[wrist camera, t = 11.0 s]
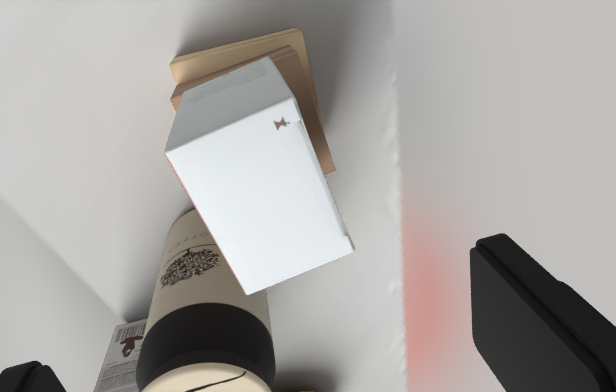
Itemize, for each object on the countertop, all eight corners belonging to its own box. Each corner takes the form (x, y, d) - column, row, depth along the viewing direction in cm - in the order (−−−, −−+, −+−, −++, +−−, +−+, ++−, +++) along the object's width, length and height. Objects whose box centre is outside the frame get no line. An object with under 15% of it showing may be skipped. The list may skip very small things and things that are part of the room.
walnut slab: (176, 85, 30) (170, 99, 27) (289, 44, 30) (297, 52, 27) (223, 187, 34) (223, 211, 30) (323, 150, 34) (335, 170, 30)
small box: (181, 90, 27) (157, 148, 17) (269, 53, 26) (293, 90, 17) (238, 202, 30) (244, 301, 21) (316, 169, 30) (358, 254, 21)
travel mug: (263, 276, 42) (287, 457, 26) (176, 289, 41) (143, 486, 25) (253, 198, 38) (273, 352, 22) (157, 210, 37) (105, 381, 21)
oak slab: (175, 56, 33) (169, 64, 30) (294, 26, 34) (302, 31, 30) (212, 166, 37) (211, 186, 34) (318, 139, 38) (328, 155, 34)
